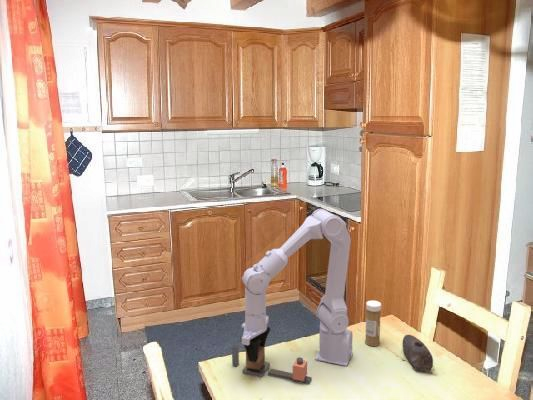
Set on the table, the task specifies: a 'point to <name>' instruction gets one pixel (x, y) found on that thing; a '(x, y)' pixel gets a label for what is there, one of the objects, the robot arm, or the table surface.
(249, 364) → the block
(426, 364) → the perforated stone tool
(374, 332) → the sprinkles bottle
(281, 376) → the rail
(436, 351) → the table surface
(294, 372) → the lever handle
